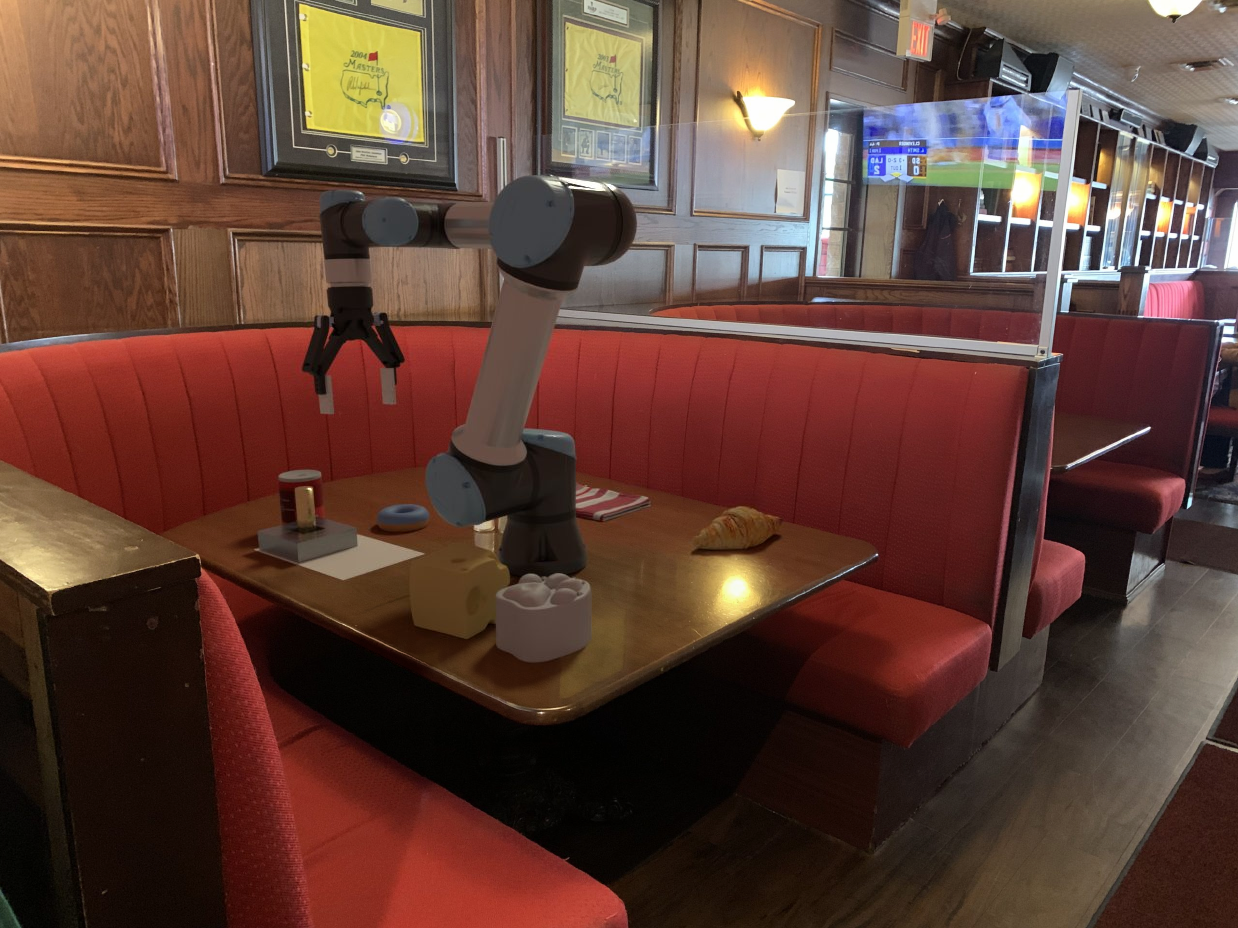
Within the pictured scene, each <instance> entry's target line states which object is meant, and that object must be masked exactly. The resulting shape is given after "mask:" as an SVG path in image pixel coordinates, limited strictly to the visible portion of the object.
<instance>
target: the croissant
mask: <svg viewBox="0 0 1238 928" xmlns="http://www.w3.org/2000/svg"><path fill="white" fill-rule="evenodd" d="M782 523H783V518H782V517H778V516H776V515H771V514H765V513H763V512H761V511H758V510H757V508H755V507H752V506H744V505H743V506H741V505H740V506H736V507H731V508H728V509H726V510H725V511H723V512H722V513H721V514H720V515H719V516H718V517H716V518H715V519H713V520H712V521H711V523H710V525H709V526H706V527H703V528H702V529H701V530H700V532H699V535H695V536H693V537H692V545H693V547H695V548H697V549H701V550H722V551H723V550H728V551H729V550H746V549H748V548H751V547H756V546H759V545H760V544H763V543H764V542H765V541H767V540H768V539H769V538H772V536H774V535H775V534H776V533H777V532H778V531H779V529H780V527H781V525H782Z"/></svg>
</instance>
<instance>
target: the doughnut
mask: <svg viewBox="0 0 1238 928" xmlns="http://www.w3.org/2000/svg"><path fill="white" fill-rule="evenodd" d="M429 522H430V513H429V511H428V510H427V508H425V507H424V506H422V505H419V504H414V503H413V504H411V503H409V504H407V503H405V504H395V505H389V506H387V507H384V508H383V509H381V510H380V511H378V514H377V516H376V525H377V526H378V528H379V529H380V530H382V531H384V532H389V533H406V532H413V531H418V530H421V529H424V528H426V527H427V526H429V525H428V524H429Z"/></svg>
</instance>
